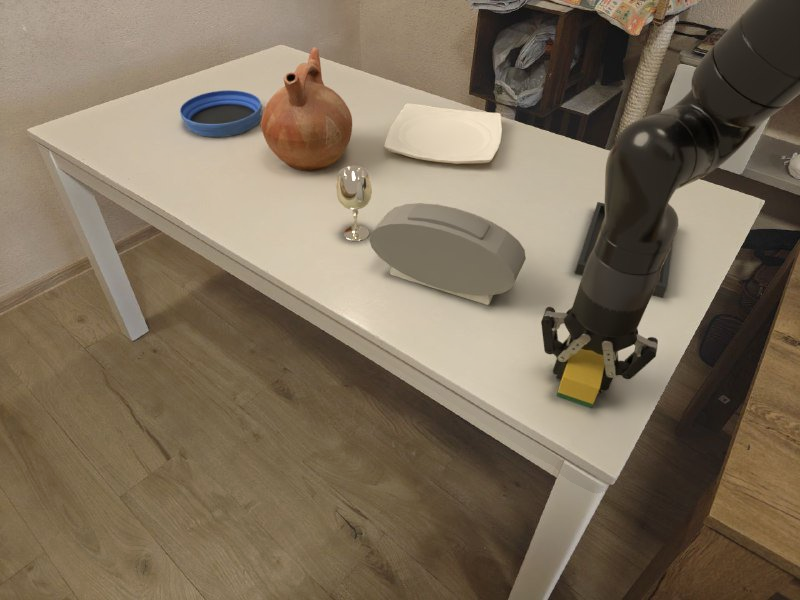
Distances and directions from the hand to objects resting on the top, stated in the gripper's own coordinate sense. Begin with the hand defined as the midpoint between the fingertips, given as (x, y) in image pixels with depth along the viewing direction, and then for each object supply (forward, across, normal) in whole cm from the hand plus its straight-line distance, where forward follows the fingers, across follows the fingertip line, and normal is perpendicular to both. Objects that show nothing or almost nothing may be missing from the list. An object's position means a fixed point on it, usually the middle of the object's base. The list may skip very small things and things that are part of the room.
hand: (579, 381), depth 72 cm
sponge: (0, 0, 0) cm, 0 cm away
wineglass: (+1, -42, +17) cm, 45 cm away
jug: (+1, -63, +37) cm, 73 cm away
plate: (+1, -40, +56) cm, 69 cm away
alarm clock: (+1, -24, +12) cm, 26 cm away
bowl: (+1, -90, +43) cm, 100 cm away
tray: (0, +2, +32) cm, 32 cm away
